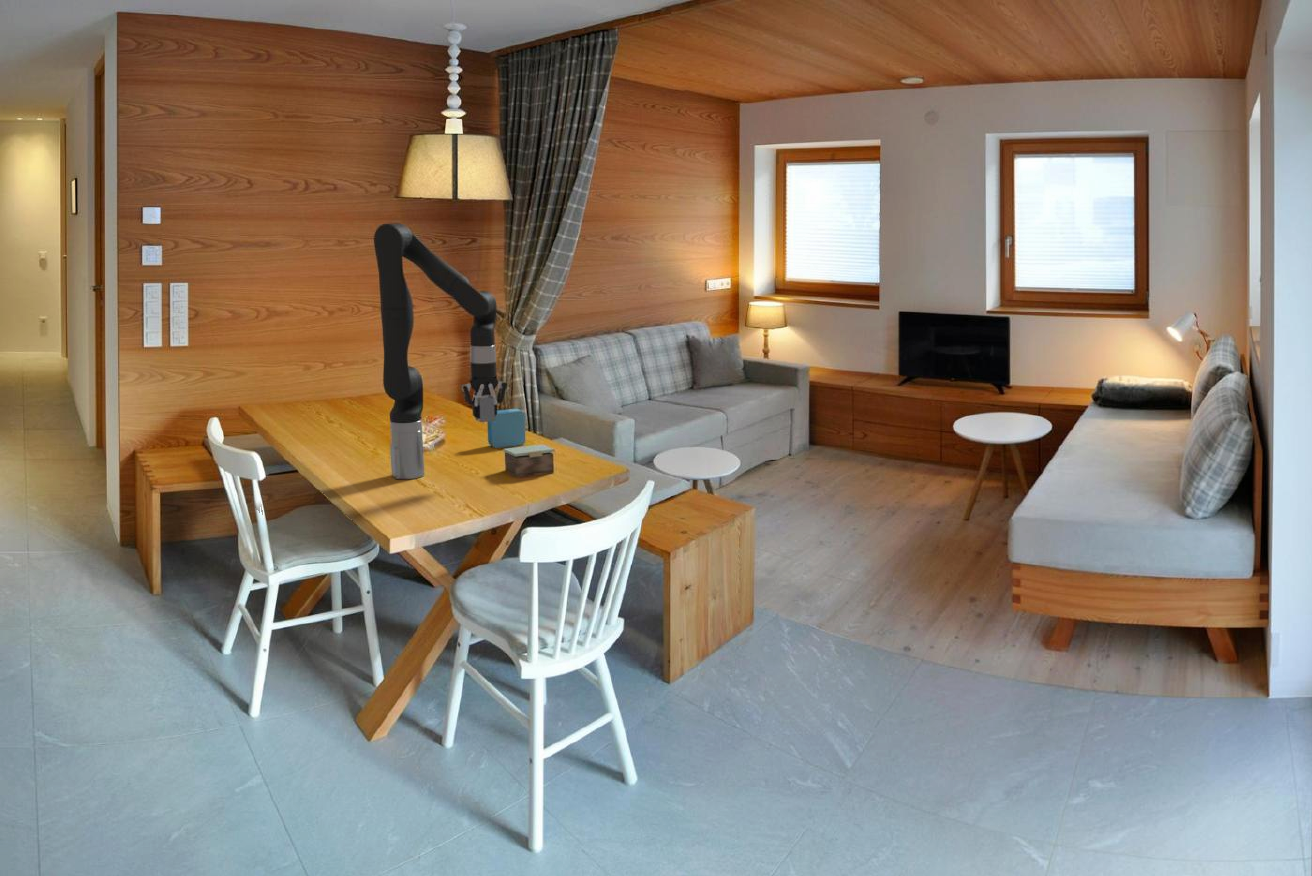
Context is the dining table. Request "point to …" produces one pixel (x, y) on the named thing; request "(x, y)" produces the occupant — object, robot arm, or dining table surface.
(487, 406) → the block
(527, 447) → the box lid
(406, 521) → the dining table surface
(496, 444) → the data package
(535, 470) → the walnut box
